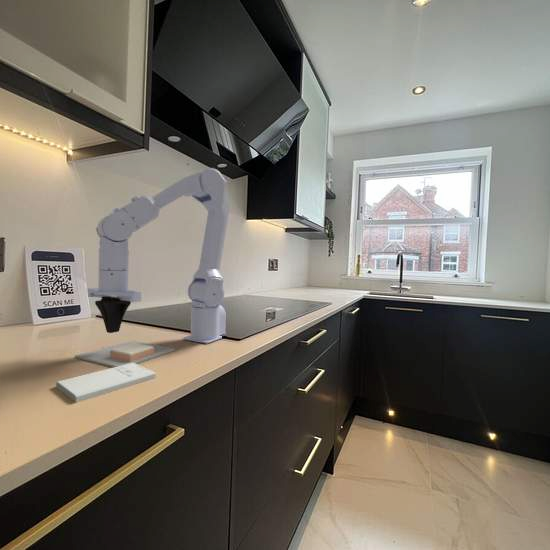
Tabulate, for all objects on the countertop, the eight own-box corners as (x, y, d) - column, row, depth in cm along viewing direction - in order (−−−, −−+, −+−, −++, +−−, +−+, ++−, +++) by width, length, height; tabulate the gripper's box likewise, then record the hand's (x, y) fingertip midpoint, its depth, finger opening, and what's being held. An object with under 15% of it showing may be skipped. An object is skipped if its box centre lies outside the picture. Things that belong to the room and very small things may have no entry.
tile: (134, 342, 67) (154, 346, 64) (134, 349, 67) (154, 353, 65) (110, 349, 62) (130, 354, 59) (110, 357, 62) (130, 361, 59)
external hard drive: (56, 390, 48) (132, 369, 58) (76, 406, 43) (155, 380, 53) (55, 380, 48) (132, 361, 58) (76, 395, 43) (155, 371, 53)
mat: (132, 342, 75) (132, 340, 75) (175, 350, 69) (175, 348, 69) (74, 357, 62) (74, 355, 62) (121, 369, 56) (121, 367, 56)
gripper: (74, 268, 64) (73, 331, 65) (120, 271, 58) (119, 340, 59) (104, 268, 71) (103, 325, 71) (149, 271, 65) (148, 333, 65)
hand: (113, 331), depth 66 cm, fingers closed
